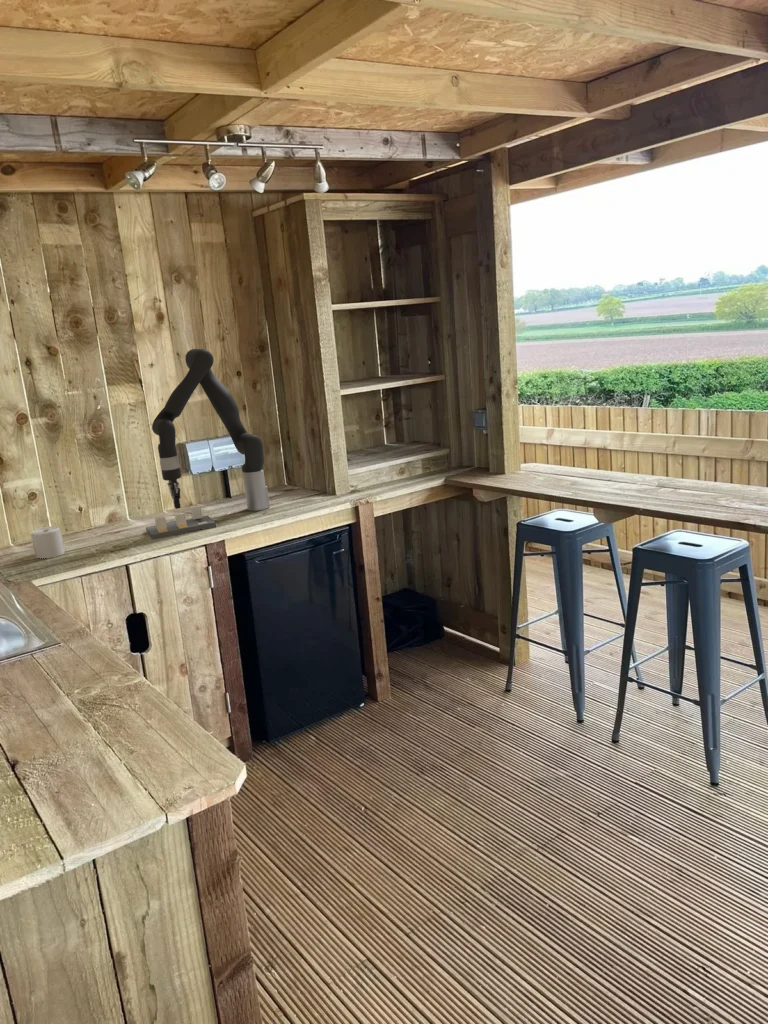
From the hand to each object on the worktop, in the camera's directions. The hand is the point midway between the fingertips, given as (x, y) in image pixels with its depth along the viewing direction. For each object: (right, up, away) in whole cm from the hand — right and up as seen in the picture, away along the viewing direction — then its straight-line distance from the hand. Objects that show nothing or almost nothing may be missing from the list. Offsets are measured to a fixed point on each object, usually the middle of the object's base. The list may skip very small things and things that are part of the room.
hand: (177, 508), depth 323 cm
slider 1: (-5, -9, -6) cm, 11 cm away
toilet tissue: (-45, -19, -18) cm, 52 cm away
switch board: (+1, -9, +1) cm, 9 cm away
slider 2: (+6, -4, +7) cm, 10 cm away
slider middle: (+2, -7, -3) cm, 8 cm away
